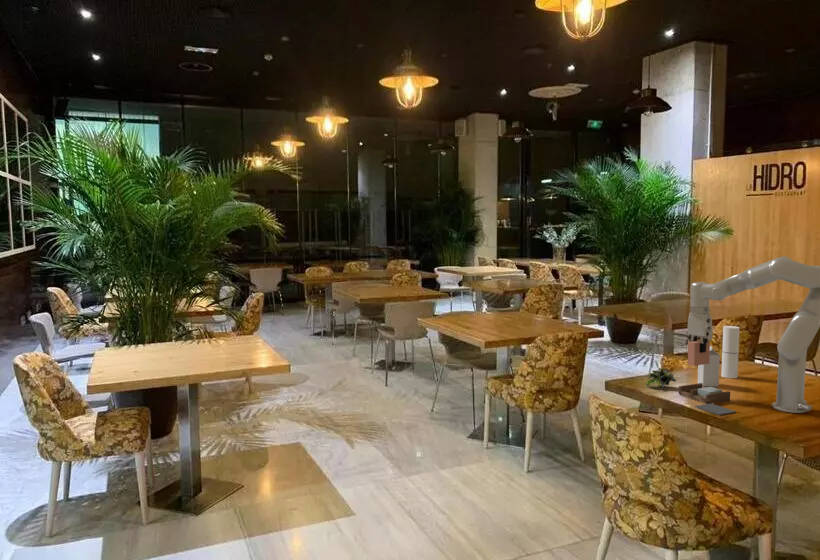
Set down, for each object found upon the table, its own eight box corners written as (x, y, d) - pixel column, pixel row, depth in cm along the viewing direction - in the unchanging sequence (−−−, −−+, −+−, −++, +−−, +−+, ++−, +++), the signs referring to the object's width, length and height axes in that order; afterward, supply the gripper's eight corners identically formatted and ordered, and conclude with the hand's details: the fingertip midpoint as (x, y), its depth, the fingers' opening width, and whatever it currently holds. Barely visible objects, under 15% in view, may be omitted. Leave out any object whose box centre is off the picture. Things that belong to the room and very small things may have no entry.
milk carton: (712, 383, 297) (714, 344, 295) (718, 387, 290) (720, 347, 288) (697, 382, 297) (698, 343, 295) (702, 386, 290) (704, 346, 288)
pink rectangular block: (709, 363, 275) (709, 341, 274) (694, 365, 271) (694, 343, 270) (703, 362, 278) (703, 340, 277) (687, 364, 274) (688, 341, 274)
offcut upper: (722, 395, 268) (722, 390, 268) (709, 397, 265) (709, 392, 265) (710, 392, 274) (710, 386, 274) (697, 394, 270) (697, 388, 270)
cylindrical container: (718, 375, 310) (720, 326, 307) (727, 374, 313) (729, 325, 310) (730, 379, 303) (732, 328, 301) (740, 377, 306) (742, 327, 304)
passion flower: (662, 397, 293) (678, 377, 292) (664, 399, 282) (680, 378, 281) (641, 382, 296) (657, 362, 295) (642, 383, 286) (659, 363, 285)
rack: (729, 400, 268) (730, 391, 267) (707, 404, 263) (707, 395, 262) (700, 391, 282) (700, 383, 282) (678, 394, 277) (679, 386, 277)
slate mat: (735, 412, 251) (735, 411, 251) (719, 415, 248) (719, 414, 248) (711, 404, 262) (711, 403, 262) (695, 407, 259) (695, 405, 259)
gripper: (721, 311, 266) (720, 354, 268) (691, 307, 281) (690, 347, 283) (708, 313, 263) (707, 355, 265) (678, 308, 279) (677, 349, 280)
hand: (698, 351), depth 274 cm, fingers closed on pink rectangular block, 3 cm apart
